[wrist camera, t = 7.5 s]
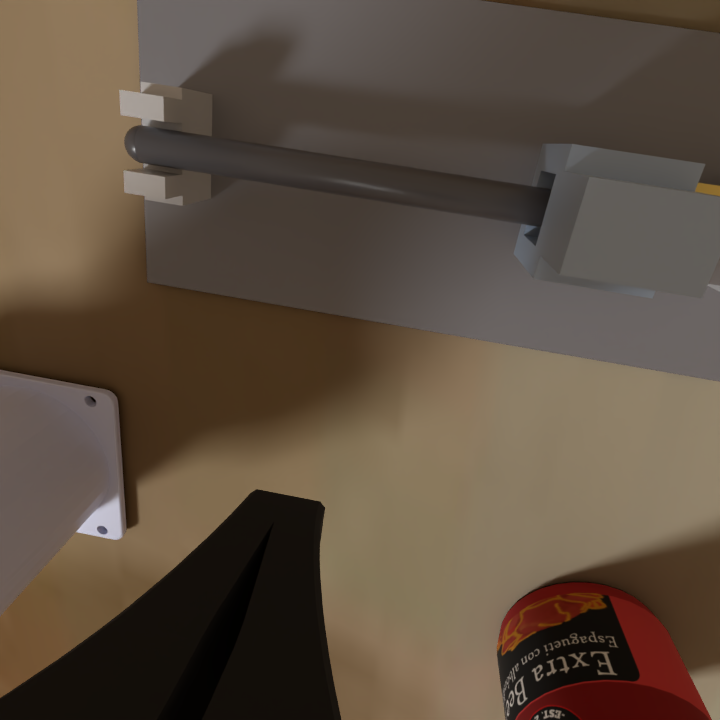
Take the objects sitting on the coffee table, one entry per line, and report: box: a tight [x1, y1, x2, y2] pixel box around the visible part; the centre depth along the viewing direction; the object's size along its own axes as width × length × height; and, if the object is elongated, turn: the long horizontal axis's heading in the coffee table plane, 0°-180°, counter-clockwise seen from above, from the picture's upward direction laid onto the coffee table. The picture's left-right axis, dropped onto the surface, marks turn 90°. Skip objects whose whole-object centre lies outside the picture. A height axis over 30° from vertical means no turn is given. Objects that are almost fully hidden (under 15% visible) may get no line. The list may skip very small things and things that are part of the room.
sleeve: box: [514, 144, 720, 299], centre depth 13 cm, size 3×3×5 cm
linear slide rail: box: [119, 0, 720, 381], centre depth 15 cm, size 21×10×4 cm, turn 82°
